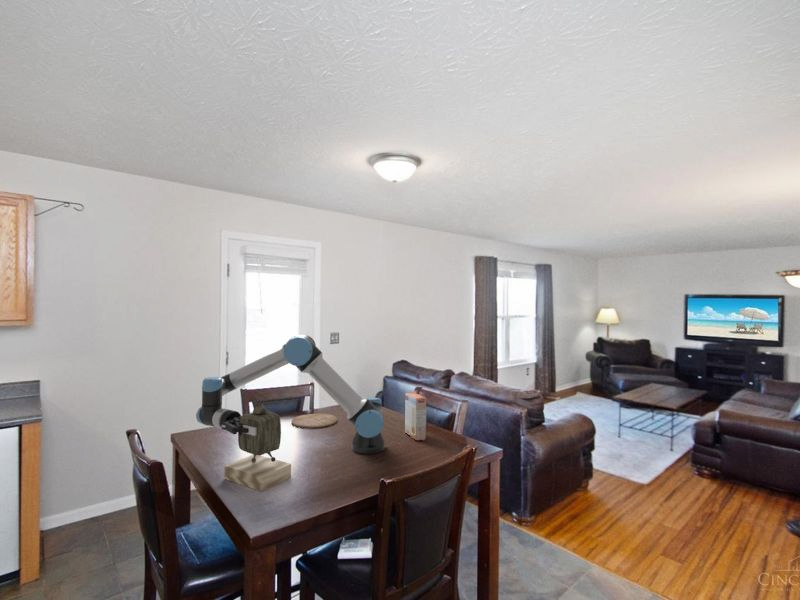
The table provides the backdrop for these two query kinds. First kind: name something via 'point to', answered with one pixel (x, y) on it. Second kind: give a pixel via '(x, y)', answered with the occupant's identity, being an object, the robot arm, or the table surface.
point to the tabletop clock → (261, 431)
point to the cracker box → (415, 415)
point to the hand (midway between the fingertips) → (266, 428)
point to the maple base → (257, 472)
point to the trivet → (314, 420)
